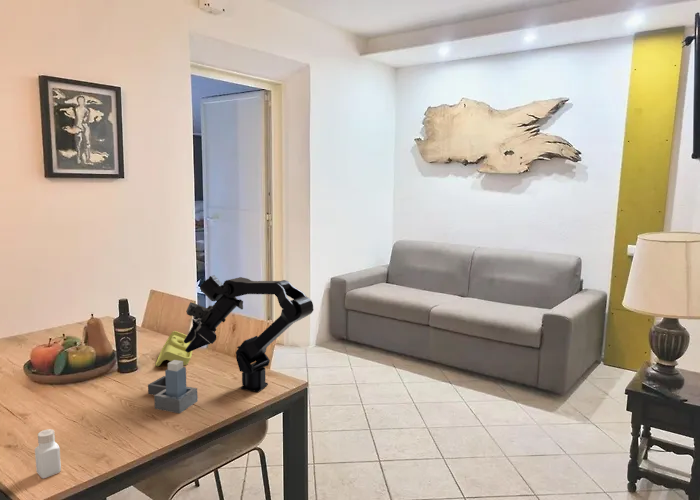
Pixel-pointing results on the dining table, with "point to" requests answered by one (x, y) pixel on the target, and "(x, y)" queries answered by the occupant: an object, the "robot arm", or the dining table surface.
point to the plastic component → (175, 349)
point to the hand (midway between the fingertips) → (185, 347)
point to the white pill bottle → (47, 454)
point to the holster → (157, 386)
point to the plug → (175, 379)
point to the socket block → (175, 401)
